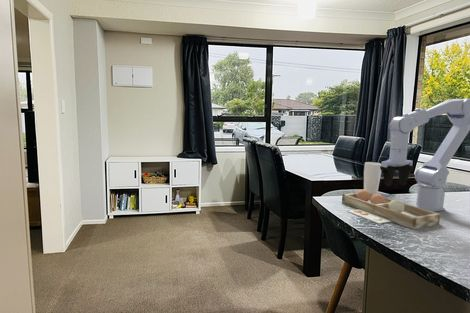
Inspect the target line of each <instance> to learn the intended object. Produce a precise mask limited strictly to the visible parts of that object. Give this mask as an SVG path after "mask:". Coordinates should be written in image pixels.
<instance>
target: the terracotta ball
mask: <svg viewBox="0 0 470 313" xmlns="http://www.w3.org/2000/svg"><path fill="white" fill-rule="evenodd" d="M384 197H385V196H383V195H382V194H380V193H377V194H374V195H373V196H372V197H371V203H372V204H382V203H385V198H386V197H385V198H384Z"/></svg>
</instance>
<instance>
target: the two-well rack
mask: <svg viewBox="0 0 470 313" xmlns="http://www.w3.org/2000/svg"><path fill="white" fill-rule="evenodd" d="M369 194H370V199H369V200H368V201H367V202H366V201H363V200H360V199H357V192H354V193H353V192H352V193H344V194H342V198H341V204H344V205H346V206H349V207H352V208H355V209H360V210H363V211H366V212H369V213H371V214H374V215H377V216H380V217H382V218H385V219H388V220H391V221H392V223H395V224H398V225H401V226H403V227H406V228H409V229H411V230H417V229H421V228H427V227H432V226H436V225H440V221H441V213H439V212H436V211H435V212H432V211H429V210H425V209H422V208H418V207H415V206H412V205H413V204H408V203H404V202H403V203H404V206H405V207H404V210H403V212H401V213H400V212H397V211H394V210H391V209H389V203H390V202H391V201H392V200H393V199H392V198H387V197H385V196H383V197H384V198H385V203H382V204H372V203H371V197H372V196H373V195H374V194H371V193H369Z"/></svg>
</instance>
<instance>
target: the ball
mask: <svg viewBox="0 0 470 313" xmlns="http://www.w3.org/2000/svg"><path fill="white" fill-rule="evenodd" d="M356 193H357V199H360V200H363V201H366V202H367V201H368V200H369V199H370V194H369V192H368V191H367V190H364V189H359V190H358V191H357V192H356Z"/></svg>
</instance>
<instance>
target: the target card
mask: <svg viewBox="0 0 470 313" xmlns="http://www.w3.org/2000/svg"><path fill="white" fill-rule="evenodd" d="M347 212H348V213H350V214H352V215H355V216H357V217H360V218H363V219H365V220H368V221H369V222H373V223H376V224H378V225H383V224H386V223H391V222H392V221H391V220H388V219H385V218H382V217H380V216H377V215H374V214H371V213H369V212H366V211H363V210H360V209H357V208H355V209H351V210H347ZM392 223H393V222H392Z"/></svg>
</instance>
